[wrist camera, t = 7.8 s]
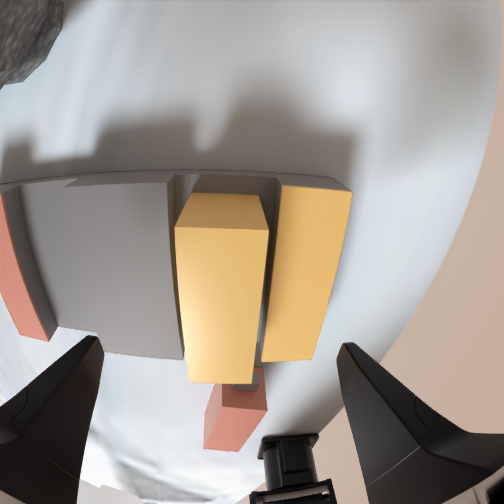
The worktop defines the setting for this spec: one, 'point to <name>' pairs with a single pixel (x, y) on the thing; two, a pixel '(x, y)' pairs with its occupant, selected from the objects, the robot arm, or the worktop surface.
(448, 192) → the worktop surface
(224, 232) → the ochre plug
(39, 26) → the mortar and pestle
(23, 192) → the slot rack
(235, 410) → the brick plug
